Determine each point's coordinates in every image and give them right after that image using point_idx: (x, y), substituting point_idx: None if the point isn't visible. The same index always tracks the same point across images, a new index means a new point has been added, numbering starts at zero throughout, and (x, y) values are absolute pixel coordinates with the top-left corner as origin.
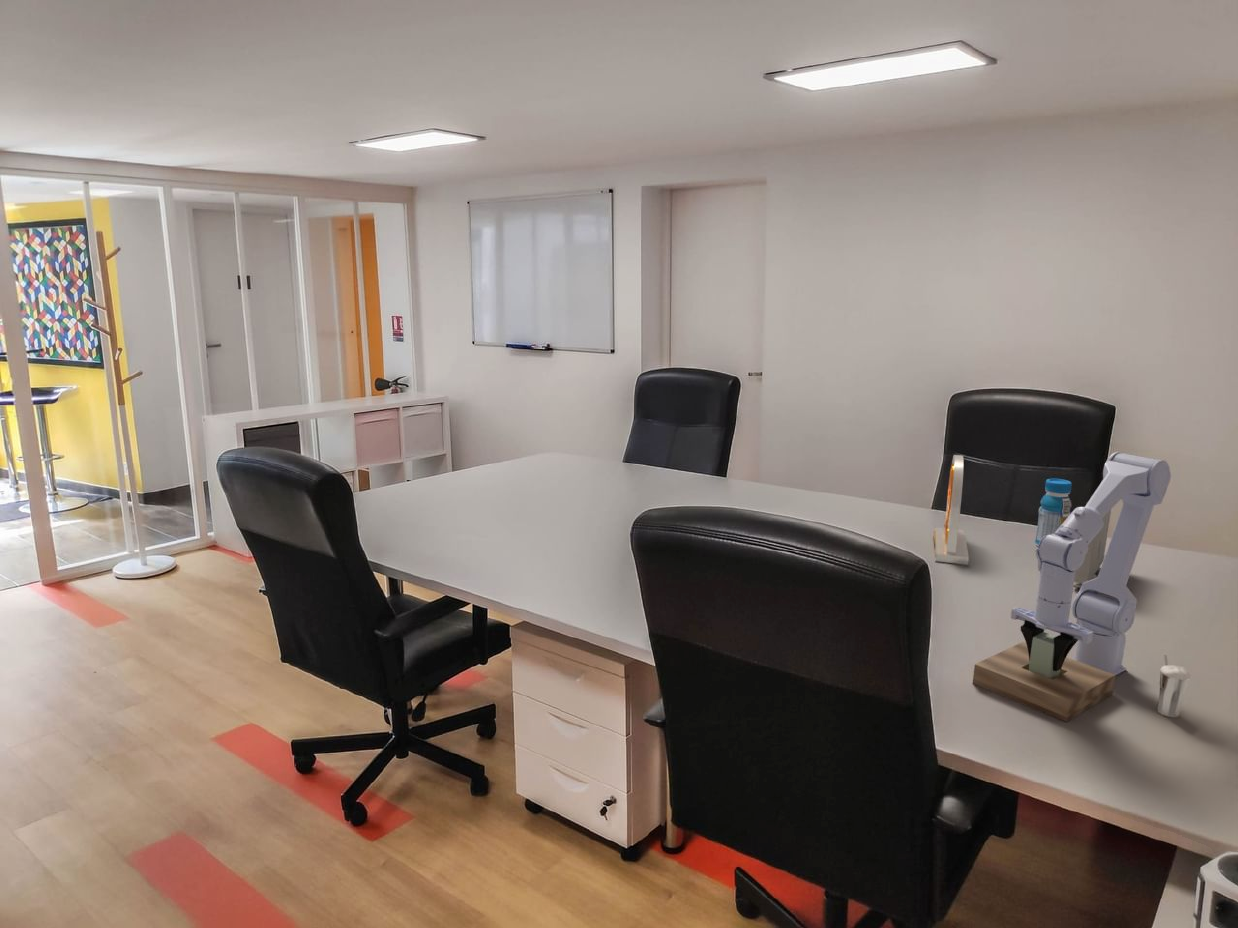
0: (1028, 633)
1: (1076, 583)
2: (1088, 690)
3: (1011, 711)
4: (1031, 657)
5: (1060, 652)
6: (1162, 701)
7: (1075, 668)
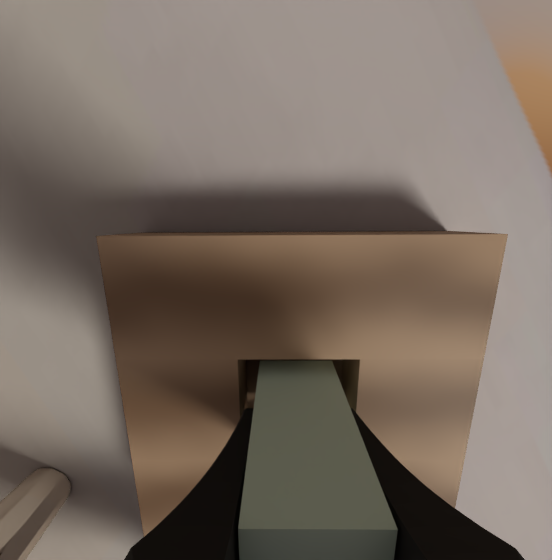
0: (442, 543)
1: None
2: (119, 380)
3: (272, 152)
4: (345, 410)
5: (203, 486)
6: (20, 503)
7: None
